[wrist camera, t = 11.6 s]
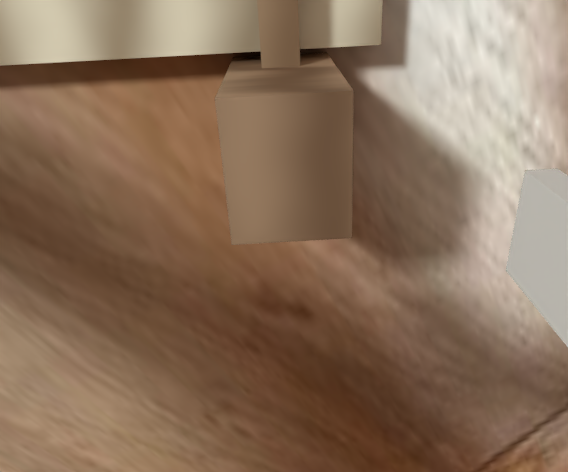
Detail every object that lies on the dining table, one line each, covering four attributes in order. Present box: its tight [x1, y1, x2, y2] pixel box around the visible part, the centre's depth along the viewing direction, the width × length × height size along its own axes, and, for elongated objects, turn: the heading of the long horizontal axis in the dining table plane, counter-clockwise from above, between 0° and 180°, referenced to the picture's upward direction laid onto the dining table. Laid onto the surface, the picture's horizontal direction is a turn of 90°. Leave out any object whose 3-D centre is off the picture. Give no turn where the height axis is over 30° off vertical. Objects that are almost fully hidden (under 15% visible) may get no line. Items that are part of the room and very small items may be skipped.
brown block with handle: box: [215, 0, 354, 245], centre depth 22 cm, size 5×13×10 cm, turn 3°
